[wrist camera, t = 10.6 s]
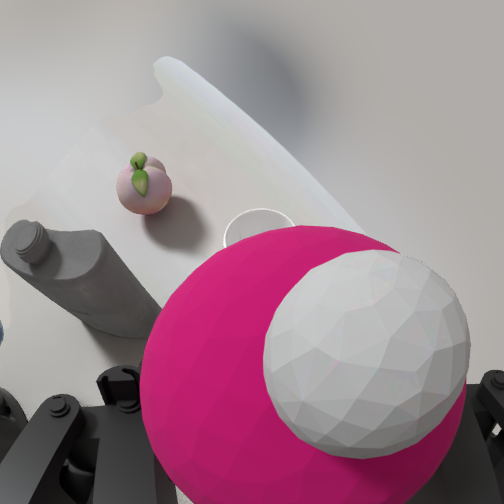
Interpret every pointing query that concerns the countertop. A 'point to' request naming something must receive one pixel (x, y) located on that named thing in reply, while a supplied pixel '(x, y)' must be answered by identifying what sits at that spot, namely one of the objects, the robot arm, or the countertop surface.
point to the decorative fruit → (144, 185)
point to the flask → (81, 277)
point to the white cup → (254, 224)
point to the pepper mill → (305, 372)
